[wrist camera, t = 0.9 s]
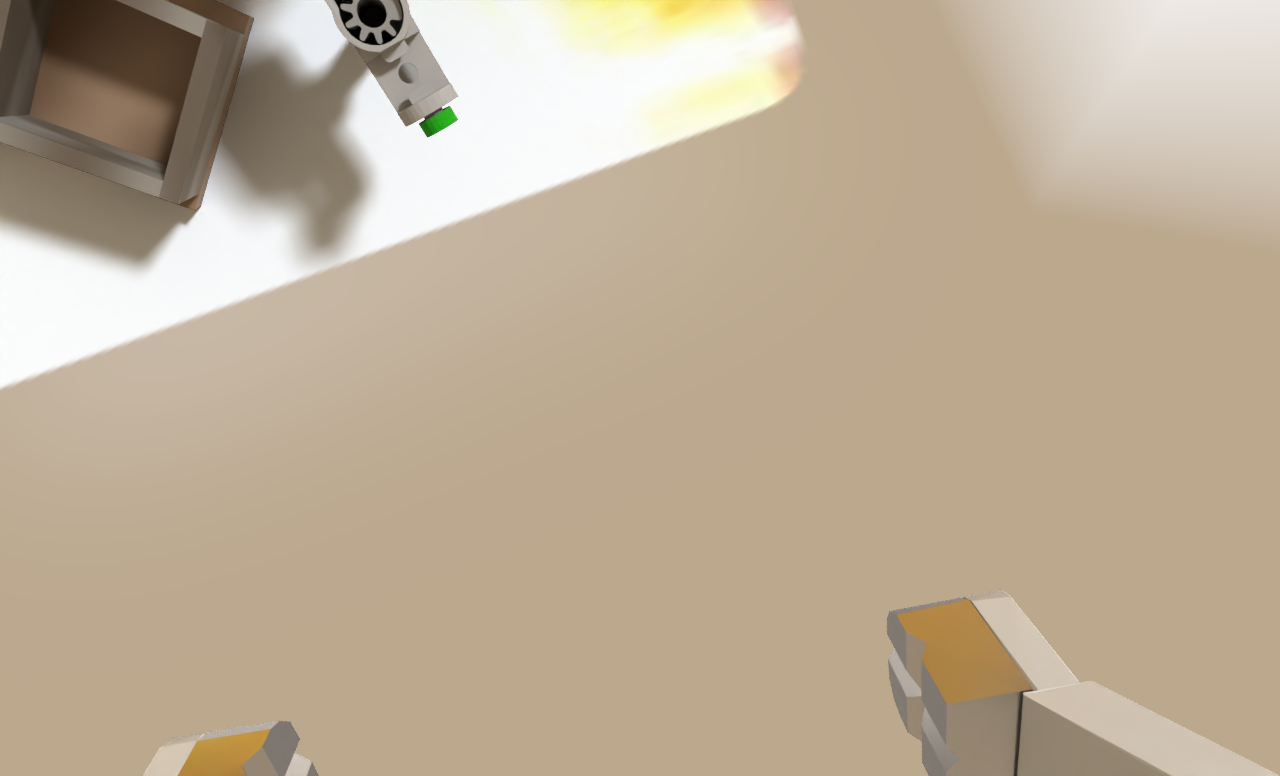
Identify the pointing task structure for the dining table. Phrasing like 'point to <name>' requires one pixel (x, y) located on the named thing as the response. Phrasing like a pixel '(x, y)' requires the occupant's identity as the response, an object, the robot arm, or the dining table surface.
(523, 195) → the dining table surface
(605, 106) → the dining table surface
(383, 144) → the dining table surface
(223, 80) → the gear board
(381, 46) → the mechanical component
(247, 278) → the dining table surface
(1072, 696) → the robot arm
